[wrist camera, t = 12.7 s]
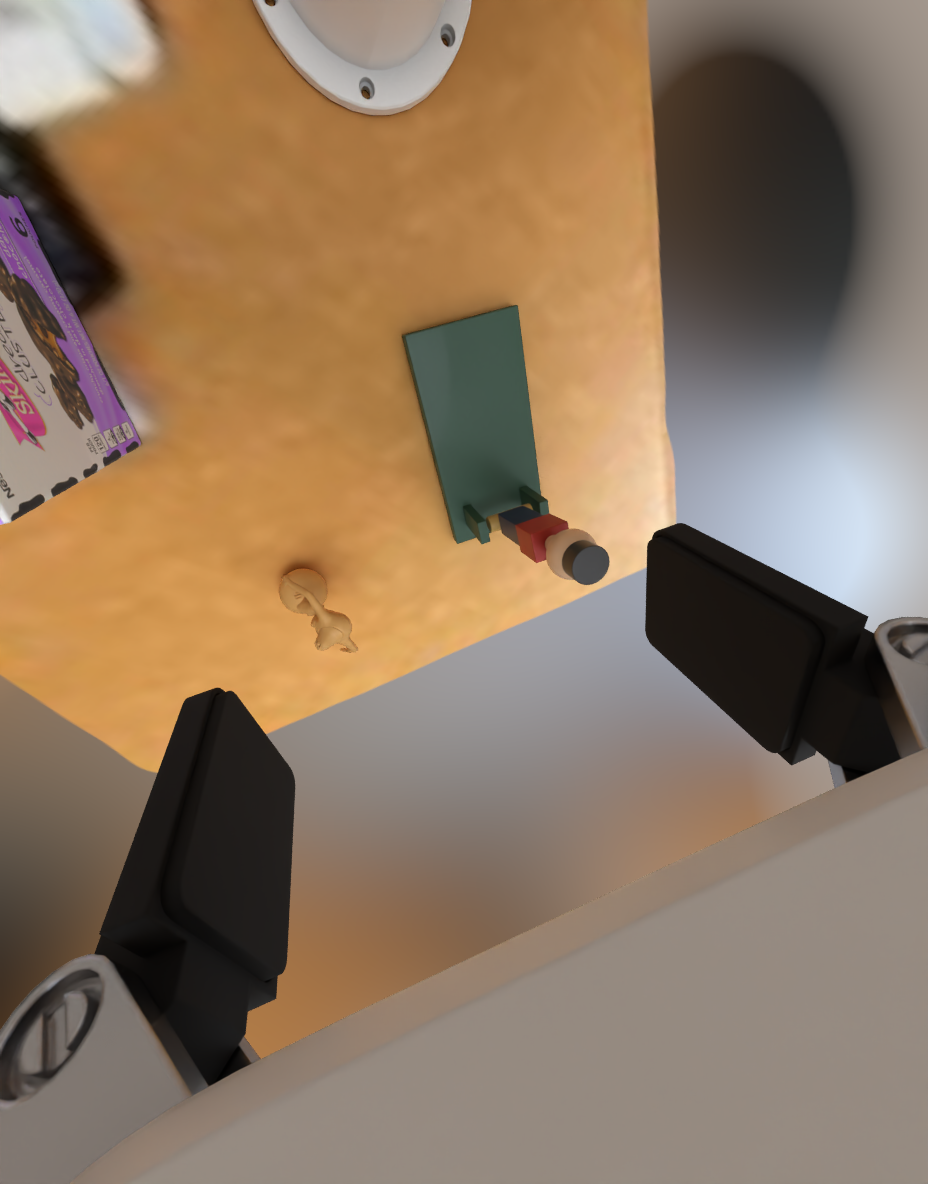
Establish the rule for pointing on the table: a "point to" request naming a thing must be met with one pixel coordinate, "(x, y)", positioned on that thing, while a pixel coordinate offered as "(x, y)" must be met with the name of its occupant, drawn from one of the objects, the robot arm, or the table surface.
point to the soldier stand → (477, 417)
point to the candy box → (47, 380)
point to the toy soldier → (552, 543)
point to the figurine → (316, 608)
